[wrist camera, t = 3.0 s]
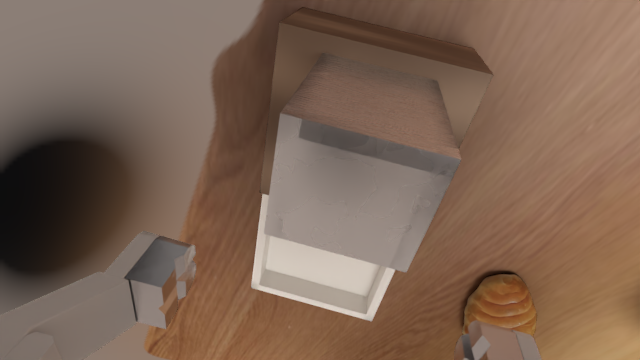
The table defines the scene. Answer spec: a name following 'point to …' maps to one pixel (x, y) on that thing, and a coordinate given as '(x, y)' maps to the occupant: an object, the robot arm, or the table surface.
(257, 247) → the tray
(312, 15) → the step block
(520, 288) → the pastry
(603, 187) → the table surface
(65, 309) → the robot arm
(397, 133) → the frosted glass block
